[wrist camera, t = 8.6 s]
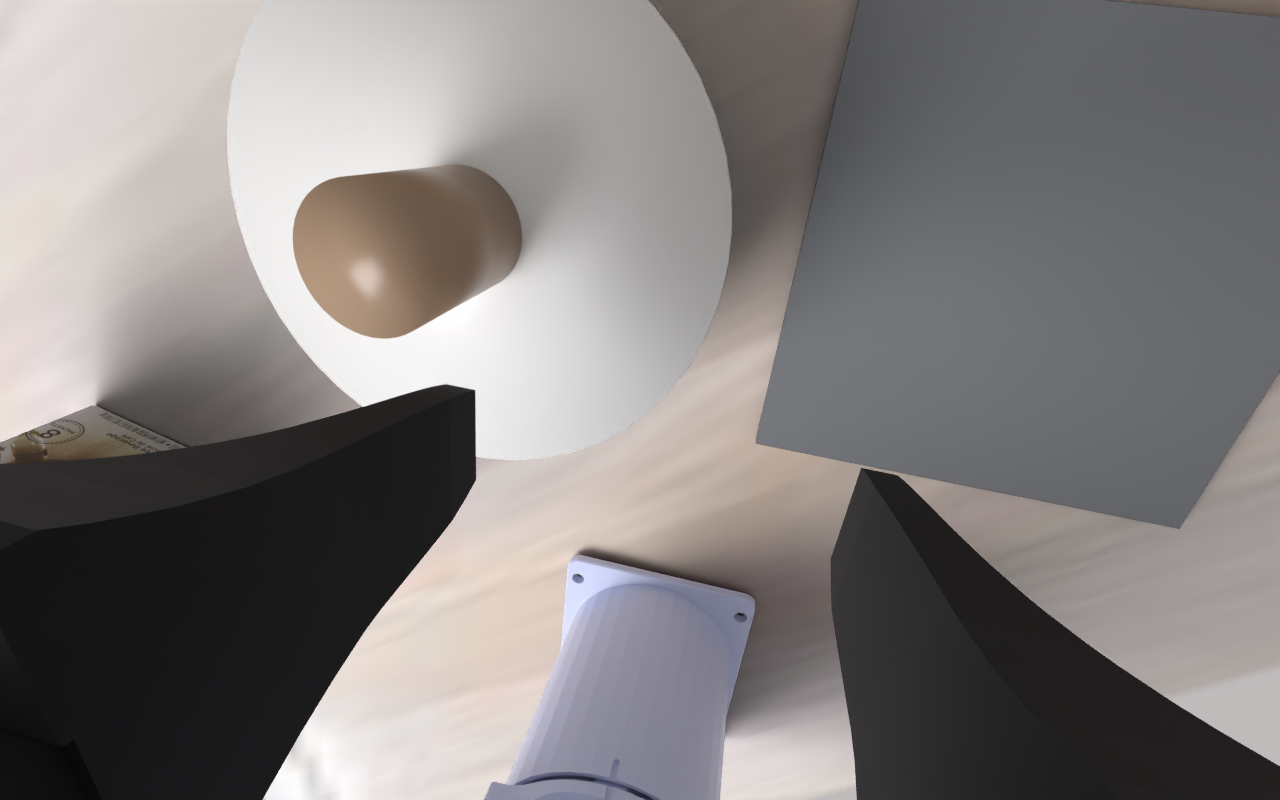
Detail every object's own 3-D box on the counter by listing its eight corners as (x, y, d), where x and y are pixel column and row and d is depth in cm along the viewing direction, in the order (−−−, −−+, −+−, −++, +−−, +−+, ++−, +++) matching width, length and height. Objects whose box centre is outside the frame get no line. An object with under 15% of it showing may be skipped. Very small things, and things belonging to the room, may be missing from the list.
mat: (1172, 521, 20) (1179, 528, 20) (756, 438, 22) (755, 443, 21) (1473, 40, 14) (1491, 38, 14) (863, -20, 16) (865, -24, 15)
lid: (688, 486, 17) (660, 603, 13) (287, 401, 19) (147, 480, 15) (788, -62, 12) (797, -171, 7) (208, -114, 13) (-56, -227, 9)
